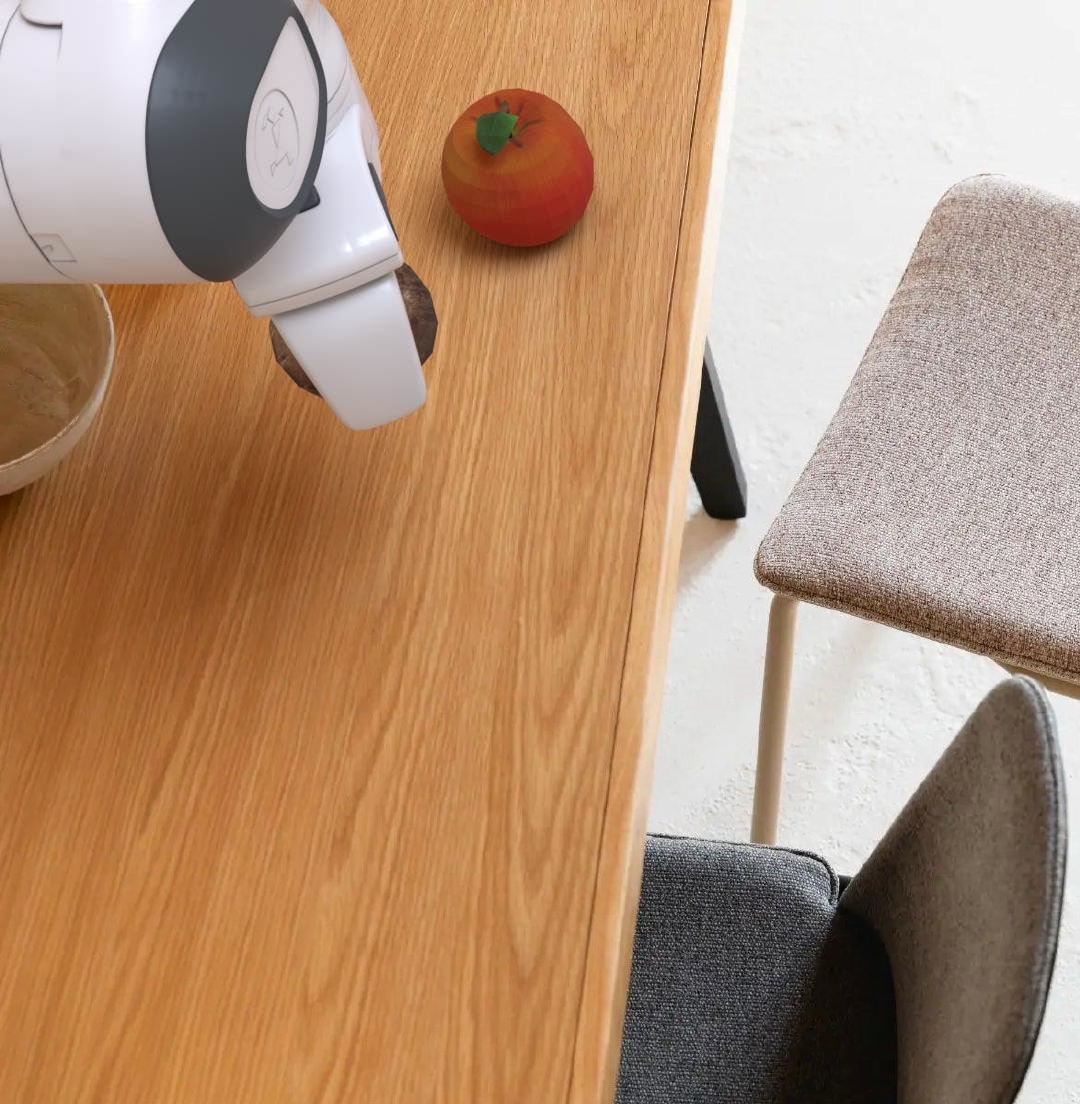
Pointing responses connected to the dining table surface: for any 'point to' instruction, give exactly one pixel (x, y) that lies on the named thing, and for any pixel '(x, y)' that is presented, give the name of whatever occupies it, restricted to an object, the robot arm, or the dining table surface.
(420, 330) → the mushroom
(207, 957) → the dining table surface
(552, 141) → the fruit
